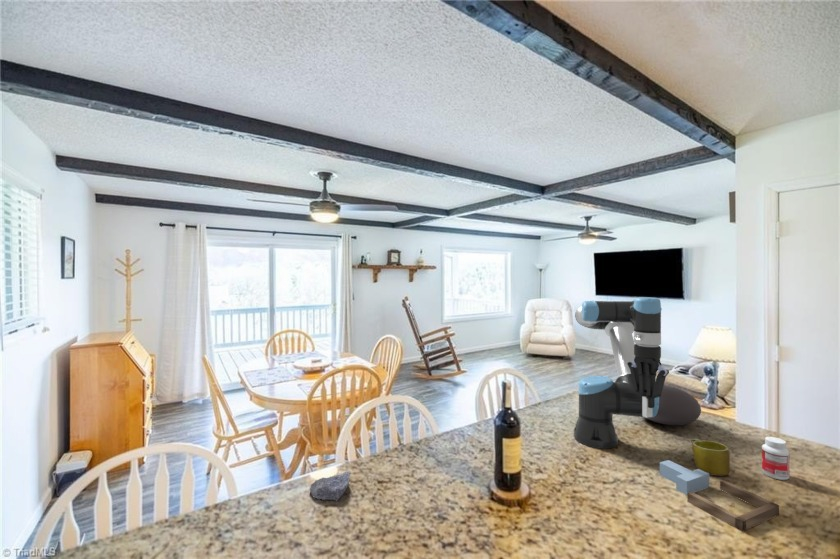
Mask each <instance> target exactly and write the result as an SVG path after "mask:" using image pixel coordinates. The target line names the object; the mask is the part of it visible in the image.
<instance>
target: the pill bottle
mask: <svg viewBox="0 0 840 559" xmlns="http://www.w3.org/2000/svg"><path fill="white" fill-rule="evenodd" d="M786 447H787V442H786V441H785V440H784V439H782V438H779V437H775V436H766V437H765V438H764V444H762V445H761V471H762V473H763V474H764V475H766V476H767V477H770V478H771V479H776V480H779V481H780V480H781V481H786V480H787V481H788V479H790V451H789V450H788V449H787V448H786Z"/></svg>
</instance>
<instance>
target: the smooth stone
mask: <svg viewBox="0 0 840 559" xmlns="http://www.w3.org/2000/svg"><path fill="white" fill-rule="evenodd" d="M701 413H702V408H701V405H700V403H699V401H698V400H697V399H696V398H695V397H694V396H693V395H691V394H690V393H688V392H687V391H685V390H684V389H680V388H679V387H676V386H671V385H668V384H667V385H666V384H664V386H663V390H662V394H661V397H659V408H658V412H657V415H656V416H655V417H648V418H646V417H644V418H645V419H648V420H649V421H651V422H654V423H657V424H661V425H667V426H682V425H689V424H691V423H693V422H695V421H696V420H698V419H699V418H700V416H701Z"/></svg>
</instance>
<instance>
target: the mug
mask: <svg viewBox="0 0 840 559" xmlns="http://www.w3.org/2000/svg"><path fill="white" fill-rule="evenodd" d="M690 441H691V442H690V443H691V449H692V455H693V459H694V464H695V468H697V469H700V470H702V471H704V472H706V473H709V476H710V475H712V476H717V477H720V476H721V477H722V476H723V477H725V476H728V475H729V476H730V473H731V461H730V459H731V456H730V454H731V453H730V449H729V447H728V446H726V444H723V443H720V442H718V441H714V440H713V441H712V440H700V438H692V439H691V440H690Z"/></svg>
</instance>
